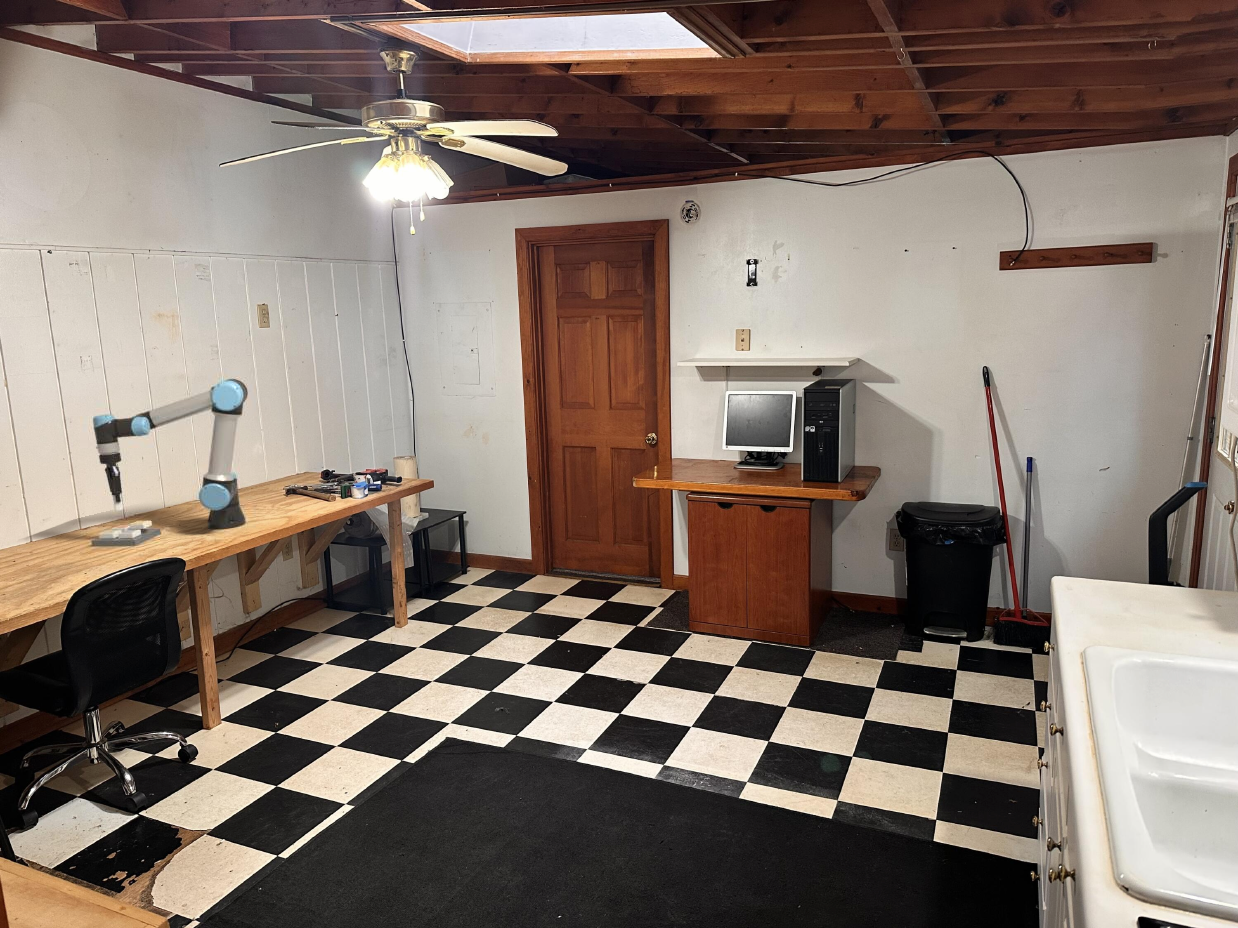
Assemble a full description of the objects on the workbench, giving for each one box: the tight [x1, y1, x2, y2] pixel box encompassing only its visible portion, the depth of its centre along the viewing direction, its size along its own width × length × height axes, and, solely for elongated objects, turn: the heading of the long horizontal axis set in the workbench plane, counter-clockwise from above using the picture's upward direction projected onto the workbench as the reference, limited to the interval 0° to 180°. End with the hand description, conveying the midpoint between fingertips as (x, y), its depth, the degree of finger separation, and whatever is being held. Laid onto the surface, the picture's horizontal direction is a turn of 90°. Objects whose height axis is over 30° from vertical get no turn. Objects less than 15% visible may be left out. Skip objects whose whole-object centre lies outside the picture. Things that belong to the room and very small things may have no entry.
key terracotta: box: [110, 524, 134, 532], centre depth 358 cm, size 6×6×4 cm
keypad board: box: [90, 528, 162, 547], centre depth 354 cm, size 18×18×2 cm
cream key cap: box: [129, 520, 153, 533], centre depth 357 cm, size 6×6×4 cm
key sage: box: [98, 529, 122, 539], centre depth 350 cm, size 6×6×4 cm
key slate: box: [118, 530, 141, 538], centre depth 350 cm, size 6×6×4 cm
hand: (119, 509), depth 353 cm, fingers closed
